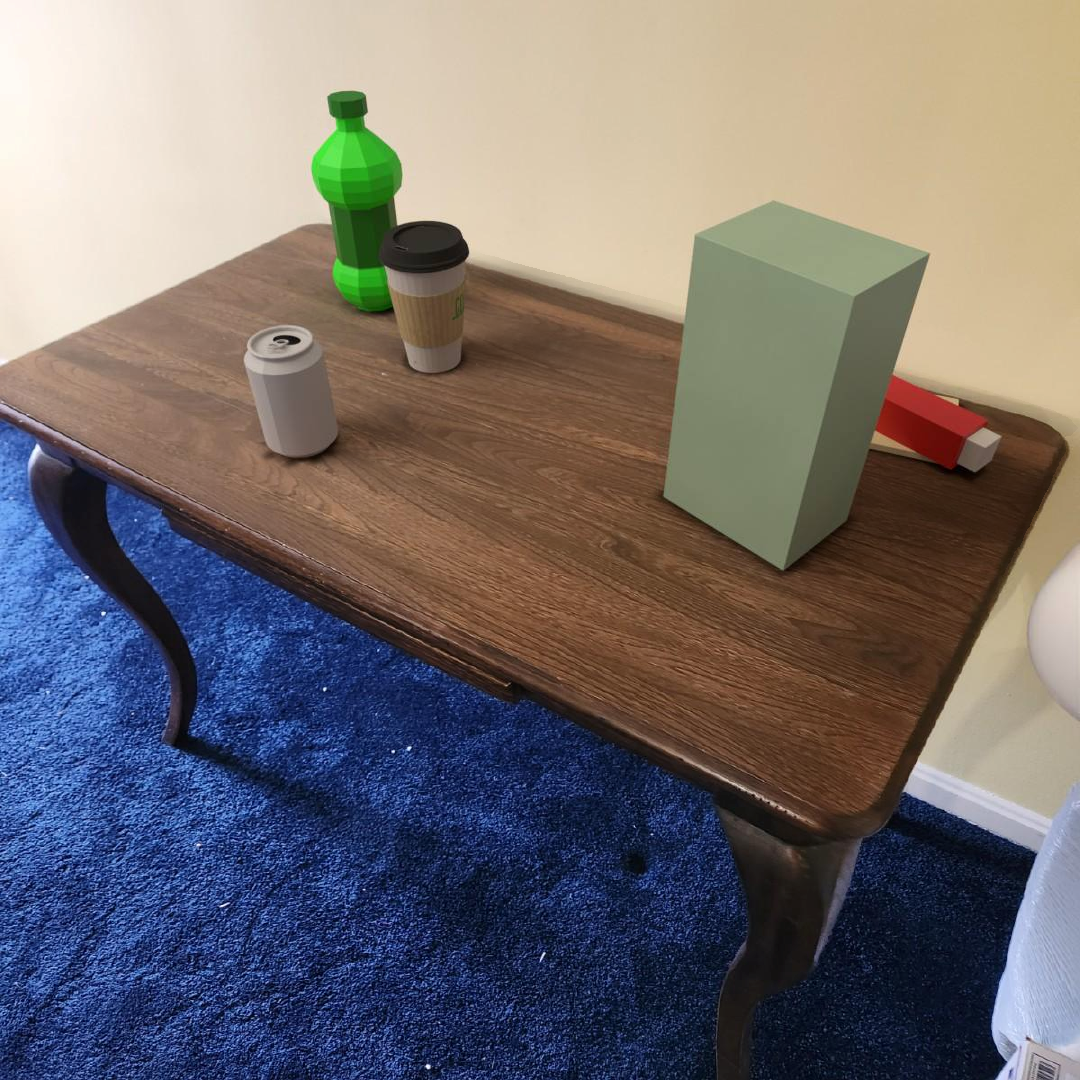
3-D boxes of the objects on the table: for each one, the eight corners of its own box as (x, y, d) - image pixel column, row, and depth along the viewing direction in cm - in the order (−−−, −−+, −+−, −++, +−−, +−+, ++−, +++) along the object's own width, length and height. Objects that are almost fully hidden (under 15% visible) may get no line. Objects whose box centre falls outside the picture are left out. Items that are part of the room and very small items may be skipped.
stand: (846, 520, 80) (930, 253, 63) (783, 571, 75) (855, 296, 58) (728, 454, 88) (773, 200, 71) (663, 496, 83) (694, 234, 66)
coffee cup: (492, 352, 103) (486, 230, 93) (442, 390, 97) (430, 263, 87) (427, 331, 107) (415, 211, 97) (376, 366, 101) (357, 242, 91)
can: (352, 428, 92) (333, 326, 84) (317, 468, 87) (293, 364, 79) (291, 415, 94) (267, 314, 86) (252, 454, 88) (223, 351, 80)
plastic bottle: (399, 278, 118) (375, 78, 101) (425, 311, 111) (404, 102, 94) (327, 293, 115) (291, 89, 98) (350, 327, 108) (314, 114, 91)
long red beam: (993, 462, 86) (1008, 429, 83) (969, 479, 84) (983, 446, 81) (799, 365, 99) (806, 334, 97) (774, 378, 97) (781, 347, 95)
